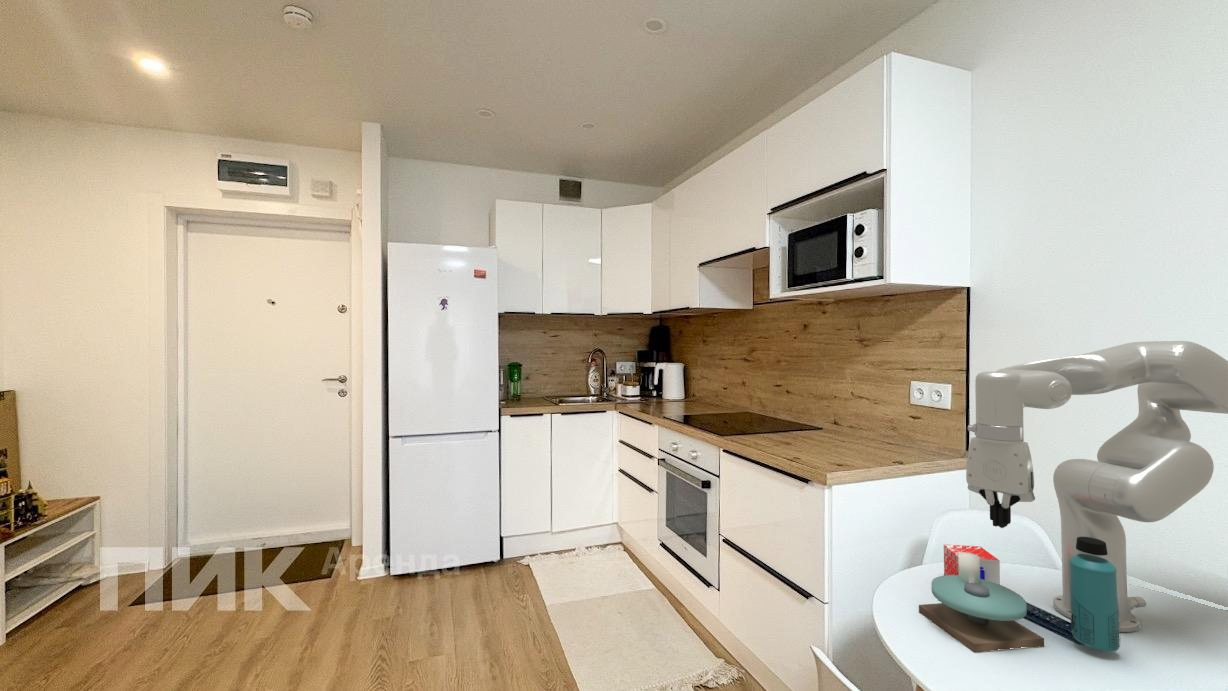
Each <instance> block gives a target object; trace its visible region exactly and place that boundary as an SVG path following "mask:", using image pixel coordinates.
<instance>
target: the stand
mask: <svg viewBox="0 0 1228 691" xmlns="http://www.w3.org/2000/svg"><path fill="white" fill-rule="evenodd" d="M918 613H920V615H922V616H923V617H925V618H926V619H928V620H930V621H931V622H932V623H933V624H934V625H936V626H938V627H939V628H940V629H942V630H943V631H944V632H946V633H947V634H948V635H950V636H951V637H952V638H954V639H955V640H957V641H958V642H959V643H960V644H962V645H963V646H965V647H966V648H967V649H969V650H970V651H972V652H973V653H983V652H982V651H987V652H992V651H991V650H998V649H1010V648H1021V647H1034V648H1042V646H1043V648H1044V647H1045V638H1044V637H1042V636H1041V635H1039V634H1037V633H1036V632H1034V631H1032V630H1031V629H1029V628H1027V627H1026V626H1024V625H1023V624H1021V623H1019V622H1017V620H1013V621H999V620H990V619H984V618H980V617H976V616H972V615H968V614H965V613H962V612H960V611H957V610H955V609H953V608H950V607H948V606H947V605H945V604H943V603H942V602H939V603H926V604H925V603H924V604H918ZM1039 646H1040V647H1039ZM1010 650H1011V649H1010Z"/></svg>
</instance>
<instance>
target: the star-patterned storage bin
mask: <svg viewBox="0 0 1228 691" xmlns="http://www.w3.org/2000/svg"><path fill="white" fill-rule="evenodd" d="M960 552H967V553H972V554H975V555H977V556H979V557H980V579H983V580H987V581H990V582H993V583H996V584H999V585H1001V575H1000V574H1001V573H1000V572H1001V566H1000V559H999V558H997V557H996V556H994V555H993V554H991V553H990V552H988V551H987V550H986V549H985V548H983V547H982V546H978V545H960V544H959V545H958V544H945V543H944V544H943V566H944V567H943V574H944V575H943V576H945V575H959V563H958V553H960Z"/></svg>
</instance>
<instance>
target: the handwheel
mask: <svg viewBox="0 0 1228 691" xmlns="http://www.w3.org/2000/svg"><path fill="white" fill-rule="evenodd" d="M958 563H959V575H945V576H944V575H939V576H937V577H935V578H933V579H932V580H931V594H932V596H934V598H935V599H936V600H938V601H939V603H943V604H945V605H947V606H948V607H950V608H953V609H955V610H957V611H960V612H962V613H965V614H968V615H972V616H976V617H980V618H984V619H990V620H999V621H1013V620H1014V621H1018V620H1021V619H1023V618H1024V617H1026V616H1027V612H1028V610H1027V602H1026V600H1025V599H1024V597H1023V596H1021V595H1020V594H1018V593H1017V592H1016V591H1014V590H1013V589H1010V588H1008V587H1006V586H1003V585H1002V584H1000V585H999V584H996V583H993V582H990V581H987V580H983V579H980V557H979V556H977V555H975V554H972V553H967V552H960V553H958Z"/></svg>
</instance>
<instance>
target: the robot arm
mask: <svg viewBox="0 0 1228 691" xmlns="http://www.w3.org/2000/svg"><path fill="white" fill-rule="evenodd" d="M974 380H975V384H974V385H975V387H974V388H975V422H974V424H968V426H967V431H968V432H972V433H974V436H975V437H971V438H970V441H969V444H968V450H967V452H968V453H967V461H966V470H965V471H966V473H965V479H966V484H967V489H968V491H971V492H973V493H976V494H979V495H980V496H981V497H982V498H983V499H984V500H985V501H986V503H987V505H989V520H990V521H992V526H993V527H999V528H1000V529H1004V528H1006V527H1008V525H1010V524H1011V521H1012V520H1011V519H1012V518H1011V517H1012V516H1011V515H1012V514H1011V511H1012V510H1011V509H1012V508H1011V507H1012V506H1014V505H1016V504H1017V503H1031V502H1034V501H1035V500H1036V496H1035V493H1034V489H1035V488H1034V487H1035V474H1034V467H1033V460H1032V454H1031V449H1030V447H1029V443H1028V442H1026V441H1025V440H1024V439H1025V438H1024V436H1025V433H1024V431H1025V430H1024V408H1032V409H1041V410H1052V409H1057V408H1060V407H1062V406H1064V405H1065V404H1067V403H1068V402H1069V401H1070V399H1071V397H1072V396H1085V395H1086V396H1087V395H1089V396H1090V395H1102V394H1106V393H1109V392H1110V393H1111V392H1114V391H1118V390H1122V389H1124V388H1128V387H1132V386H1133V387H1134V386H1136V385H1137V389H1136V390H1137V400H1138V401H1137V403H1138V414H1137V417H1136V418H1135V419H1134V420H1133V421H1132V422H1131V423H1129V424H1128V425H1127V426H1125V427H1124V428H1122V429H1121V430H1119V431H1118V432H1116V434H1114V435H1112V436H1111V437H1110V438H1108V439H1107V440H1106V441H1105V442H1103V443H1102V445H1101V446H1100V447H1099V448H1098V451H1097V454H1096V459H1097V460H1091V459H1085V458H1072V459H1067V460H1065V461H1062V462H1060V463H1059V464H1058V465H1057V466H1056V468H1055V469H1054V472H1053V478H1052V479H1053V489H1054V490H1055V495H1056V498H1057V501H1058V506H1059V514H1060V534H1061V535H1060V536H1061V537H1060V538H1061V539H1060V541H1061V543H1060V544H1061V572H1062V573H1061V574H1062V576H1061V577H1062V580H1061V582H1062V594H1061V595H1058V596H1055V597H1054V598H1053V600H1052V602H1053V604H1052V605H1053V608H1054V609H1055V610H1056V611H1057V612H1059V613H1060V614H1061V615H1063V616H1064V617H1067V618H1068V619H1070V620H1071V608H1070V607H1071V602H1070V601H1071V595H1070V583H1069V582H1070V563H1069V559H1070V558H1071V557H1073V556H1075V555H1077V554H1088V553H1085V552H1082V551H1079V550H1077V549H1076V542H1077V538H1078V537H1091V538H1096V539H1099V540H1102V541H1104V542H1105V543H1106V547H1107V555H1094V556H1098V557H1101V558H1104V559H1106V560H1108V561H1109V562H1110V563H1111V564H1112V565H1114V566H1115V568H1116V570H1117V572H1116V580H1117V598H1118V599H1117V600H1118V605H1119V606H1118V607H1119V609H1118V610H1119V611H1118V612H1120V613H1118V619H1119V622H1120V625H1119V633H1132V632H1136V631H1138V630H1139V629H1140V620H1139V619H1138V618H1137V616H1136V615H1134V614H1133V613H1132V610H1133V609H1134V608H1145V607H1147V601H1146V599H1145V598H1144V597H1141V596H1137V595H1136V596H1130V597H1129V596H1128V575H1127V574H1128V572H1127V570H1128V568H1127V539H1126V532H1125V529H1124V526H1123V525H1122V522H1121V520H1120V519H1119V517H1121V518H1124V519H1128V520H1132V521H1136V522H1140V523H1155V522H1158V521H1161V520H1163V519H1165V518H1167V517H1169V516H1170V515H1171V514H1172V513H1174V512H1175V511H1176V510H1178V509H1179V508H1180V507H1182V506H1183V505H1185V504H1186V503H1187V502H1188V501H1189V500H1191V499H1193V498H1194V497H1195V496H1197V495H1198V494H1199V493H1200V492H1202V491H1203V490H1204V489H1205V488H1206V487H1207V485H1208V484H1209V483H1210V481H1211V480H1212V477H1213V474H1214V468H1215V466H1214V464H1215V463H1214V460H1213V458H1212V456H1211V454H1210V453H1209V451H1208V450H1207V449H1205V448H1204V447H1203V446H1201V445H1199V444H1197V443H1195V442H1192V441H1191V438H1192V434H1191V431H1190V428H1189V426H1188V424H1187V423H1186V421H1185V420H1184V419H1183V417H1182V415H1181V411H1190V412H1202V413H1213V414H1214V413H1215V414H1225V415H1226V414H1228V360H1227V359H1226V358H1224V357H1222V356H1221V355H1220V354H1218V353H1216V352H1215V351H1214V350H1211V349H1209V348H1208V347H1206V346H1203V345H1201V344H1199V343H1196V342H1193V341H1190V340H1189V341H1188V340H1165V341H1164V340H1161V341H1159V340H1156V341H1155V340H1153V341H1151V340H1150V341H1146V340H1145V341H1135V342H1128V343H1123V344H1119V345H1115V346H1110V347H1107V348H1102V349H1098V350H1095V351H1091V352H1086V353H1082V354H1081V353H1080V354H1075V355H1068V356H1063V357H1062V356H1061V357H1057V358H1051V359H1044V360H1037V361H1031V362H1024V363H1020V364H1016V365H1012V366H1008V367H1004V368H1000V369H997V370H995V371H981V372H979V373H977V375H976V376H975V379H974ZM998 493H1000V494H1002V498H1001V501H1000V499H999V494H998ZM1000 502H1001V503H1000ZM1089 555H1093V554H1089ZM1119 617H1120V618H1119Z"/></svg>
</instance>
